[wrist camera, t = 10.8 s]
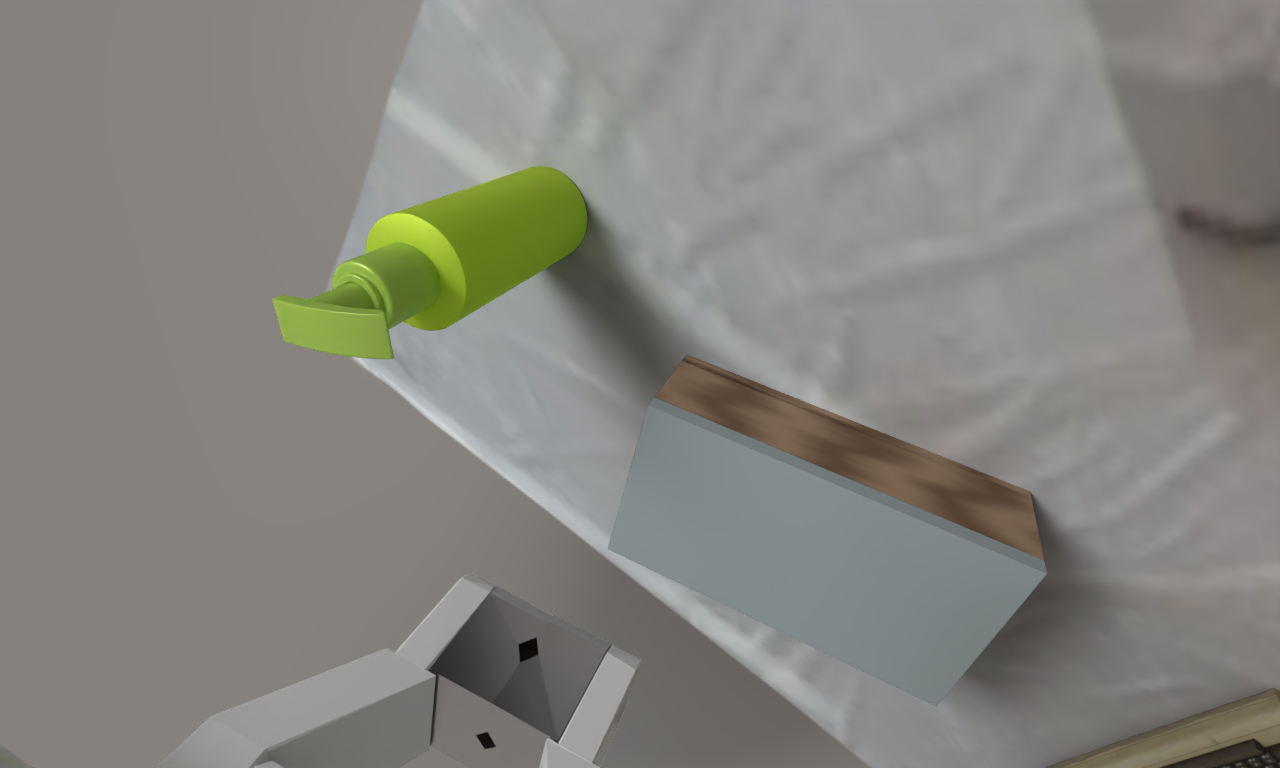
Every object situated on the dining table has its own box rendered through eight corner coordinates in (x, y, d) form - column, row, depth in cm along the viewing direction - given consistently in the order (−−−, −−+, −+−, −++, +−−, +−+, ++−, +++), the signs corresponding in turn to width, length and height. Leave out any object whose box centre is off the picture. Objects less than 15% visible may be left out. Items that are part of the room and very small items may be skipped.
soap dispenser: (604, 264, 42) (394, 409, 26) (511, 252, 44) (265, 380, 28) (601, 170, 39) (363, 266, 23) (502, 163, 42) (223, 246, 25)
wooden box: (1030, 491, 38) (1043, 559, 33) (936, 618, 45) (936, 690, 40) (686, 354, 43) (654, 396, 38) (646, 487, 49) (614, 537, 44)
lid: (1044, 560, 33) (1047, 573, 33) (936, 692, 40) (936, 706, 39) (653, 397, 38) (647, 405, 37) (613, 539, 44) (607, 548, 44)
